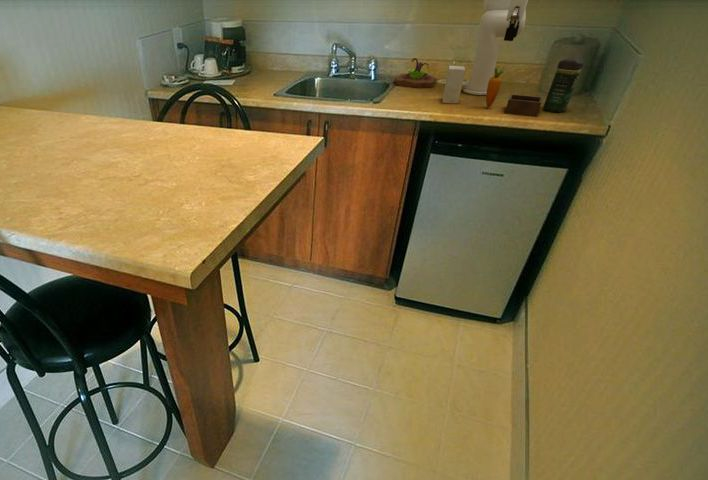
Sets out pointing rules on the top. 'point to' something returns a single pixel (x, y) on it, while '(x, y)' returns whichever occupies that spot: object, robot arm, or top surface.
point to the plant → (415, 77)
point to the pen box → (523, 105)
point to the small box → (453, 84)
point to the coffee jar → (563, 84)
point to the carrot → (493, 87)
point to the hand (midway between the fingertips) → (509, 38)
